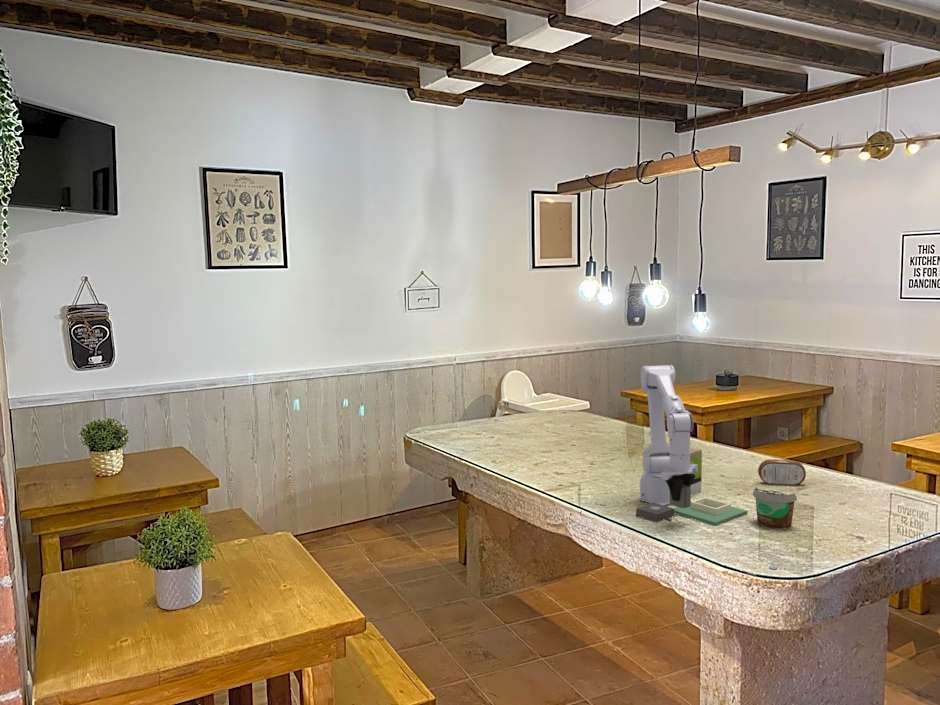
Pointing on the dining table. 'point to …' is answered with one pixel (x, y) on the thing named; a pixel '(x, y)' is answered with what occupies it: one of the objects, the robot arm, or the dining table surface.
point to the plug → (683, 498)
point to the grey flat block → (655, 512)
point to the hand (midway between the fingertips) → (679, 499)
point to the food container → (774, 508)
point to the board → (710, 511)
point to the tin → (782, 472)
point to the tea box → (694, 459)
